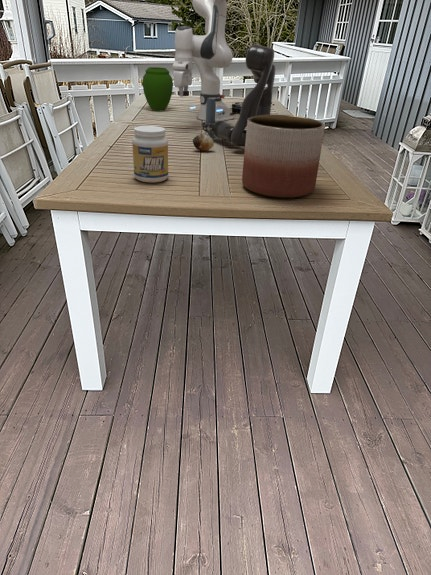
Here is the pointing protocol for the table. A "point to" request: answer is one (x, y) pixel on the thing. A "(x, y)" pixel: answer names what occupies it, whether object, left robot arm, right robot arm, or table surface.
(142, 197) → the table surface
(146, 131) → the supplement tub
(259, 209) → the table surface
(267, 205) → the table surface
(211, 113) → the dark gray cylinder
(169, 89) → the vase
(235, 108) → the sign
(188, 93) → the lid
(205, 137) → the seashell
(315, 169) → the planter
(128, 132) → the table surface
